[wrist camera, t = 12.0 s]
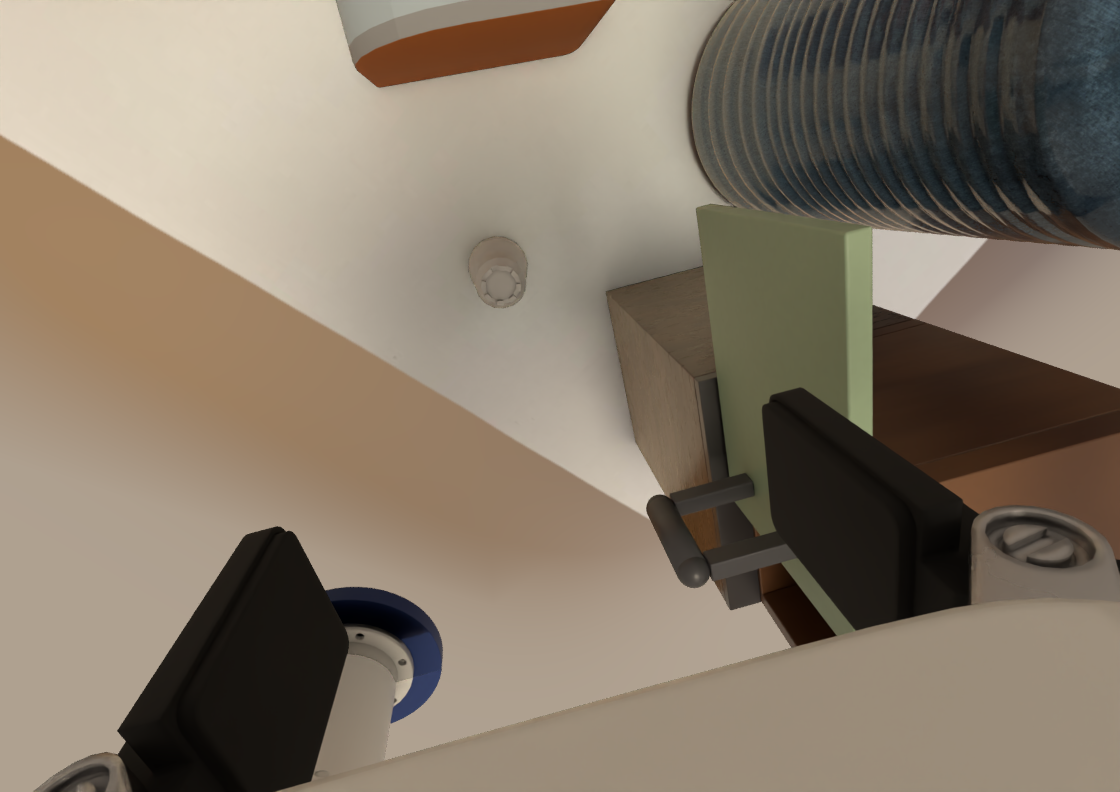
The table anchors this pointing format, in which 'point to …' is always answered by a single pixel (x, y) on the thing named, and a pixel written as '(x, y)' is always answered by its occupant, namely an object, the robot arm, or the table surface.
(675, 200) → the table surface
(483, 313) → the table surface
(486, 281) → the rook chess piece
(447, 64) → the alarm clock
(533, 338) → the table surface
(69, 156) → the table surface
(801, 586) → the door
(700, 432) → the cabinet
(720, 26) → the vase
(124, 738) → the robot arm
